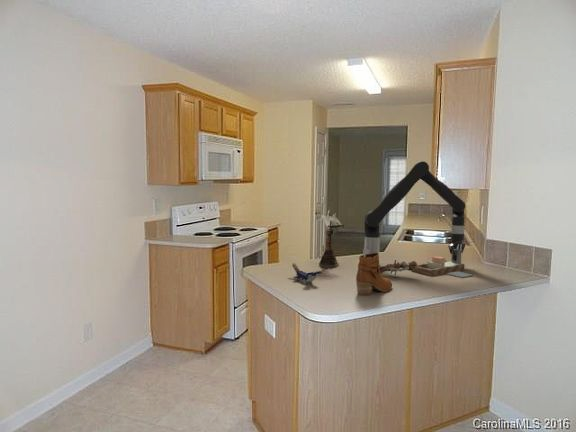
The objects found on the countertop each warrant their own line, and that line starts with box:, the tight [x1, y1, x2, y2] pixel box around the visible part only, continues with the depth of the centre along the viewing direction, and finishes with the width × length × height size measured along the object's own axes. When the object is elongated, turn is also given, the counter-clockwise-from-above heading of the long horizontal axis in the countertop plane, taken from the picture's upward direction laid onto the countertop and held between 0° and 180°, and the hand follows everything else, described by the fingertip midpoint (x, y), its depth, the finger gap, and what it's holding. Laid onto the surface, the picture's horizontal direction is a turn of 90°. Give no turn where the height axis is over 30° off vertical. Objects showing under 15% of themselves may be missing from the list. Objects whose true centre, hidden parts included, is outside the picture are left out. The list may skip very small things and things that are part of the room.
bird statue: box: [318, 209, 345, 269], centre depth 245 cm, size 17×13×35 cm
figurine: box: [379, 259, 418, 279], centre depth 222 cm, size 10×10×28 cm
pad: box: [446, 271, 474, 279], centre depth 226 cm, size 10×10×1 cm
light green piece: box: [427, 249, 463, 269], centre depth 241 cm, size 22×9×9 cm, turn 121°
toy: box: [291, 262, 322, 284], centre depth 212 cm, size 10×23×10 cm, turn 28°
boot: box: [355, 253, 393, 297], centre depth 193 cm, size 24×9×19 cm, turn 124°
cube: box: [431, 255, 446, 267], centre depth 237 cm, size 5×5×5 cm
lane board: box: [410, 260, 466, 277], centre depth 238 cm, size 30×14×3 cm, turn 121°
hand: (456, 260), depth 246 cm, fingers closed on light green piece, 2 cm apart
